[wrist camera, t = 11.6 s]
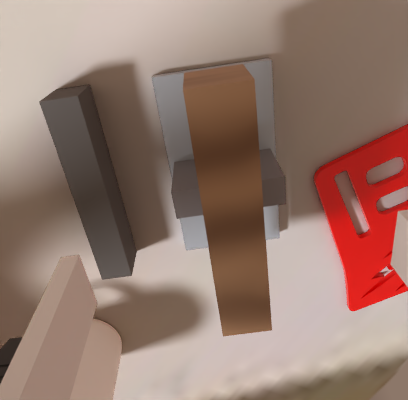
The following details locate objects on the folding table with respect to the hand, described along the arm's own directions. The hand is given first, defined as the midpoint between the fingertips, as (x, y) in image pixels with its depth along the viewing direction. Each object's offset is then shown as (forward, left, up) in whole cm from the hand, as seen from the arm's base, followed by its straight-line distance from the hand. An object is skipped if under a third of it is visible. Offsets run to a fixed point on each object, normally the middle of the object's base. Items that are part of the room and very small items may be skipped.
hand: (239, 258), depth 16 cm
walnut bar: (0, -5, -14) cm, 14 cm away
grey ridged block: (0, -5, -21) cm, 21 cm away
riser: (-12, -5, -21) cm, 24 cm away
